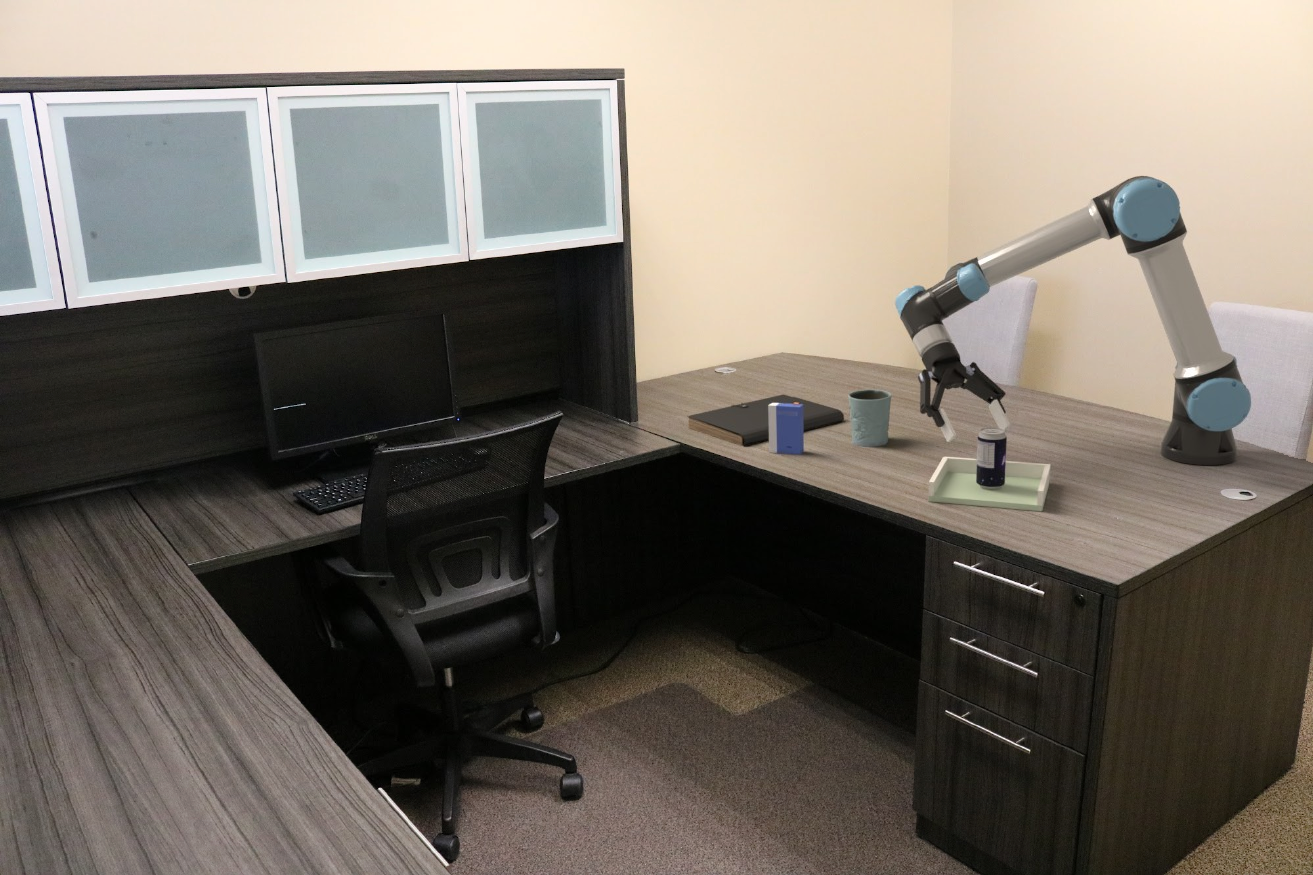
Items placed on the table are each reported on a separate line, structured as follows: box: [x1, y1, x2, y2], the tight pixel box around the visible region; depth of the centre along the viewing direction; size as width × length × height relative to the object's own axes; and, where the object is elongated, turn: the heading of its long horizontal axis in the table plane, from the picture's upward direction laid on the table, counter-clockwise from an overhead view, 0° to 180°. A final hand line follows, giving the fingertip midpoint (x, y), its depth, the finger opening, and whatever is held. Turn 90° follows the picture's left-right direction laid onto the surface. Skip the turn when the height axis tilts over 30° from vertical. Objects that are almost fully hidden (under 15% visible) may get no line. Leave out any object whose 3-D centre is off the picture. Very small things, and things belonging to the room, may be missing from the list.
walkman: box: [768, 403, 805, 456], centre depth 258 cm, size 8×3×12 cm, turn 66°
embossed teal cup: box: [847, 388, 892, 448], centre depth 263 cm, size 10×10×12 cm
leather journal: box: [687, 393, 845, 447], centre depth 284 cm, size 33×4×24 cm
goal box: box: [927, 456, 1052, 512], centre depth 225 cm, size 22×18×4 cm
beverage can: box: [976, 427, 1007, 490], centre depth 224 cm, size 6×6×12 cm
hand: (979, 433), depth 225 cm, fingers open, 13 cm apart
